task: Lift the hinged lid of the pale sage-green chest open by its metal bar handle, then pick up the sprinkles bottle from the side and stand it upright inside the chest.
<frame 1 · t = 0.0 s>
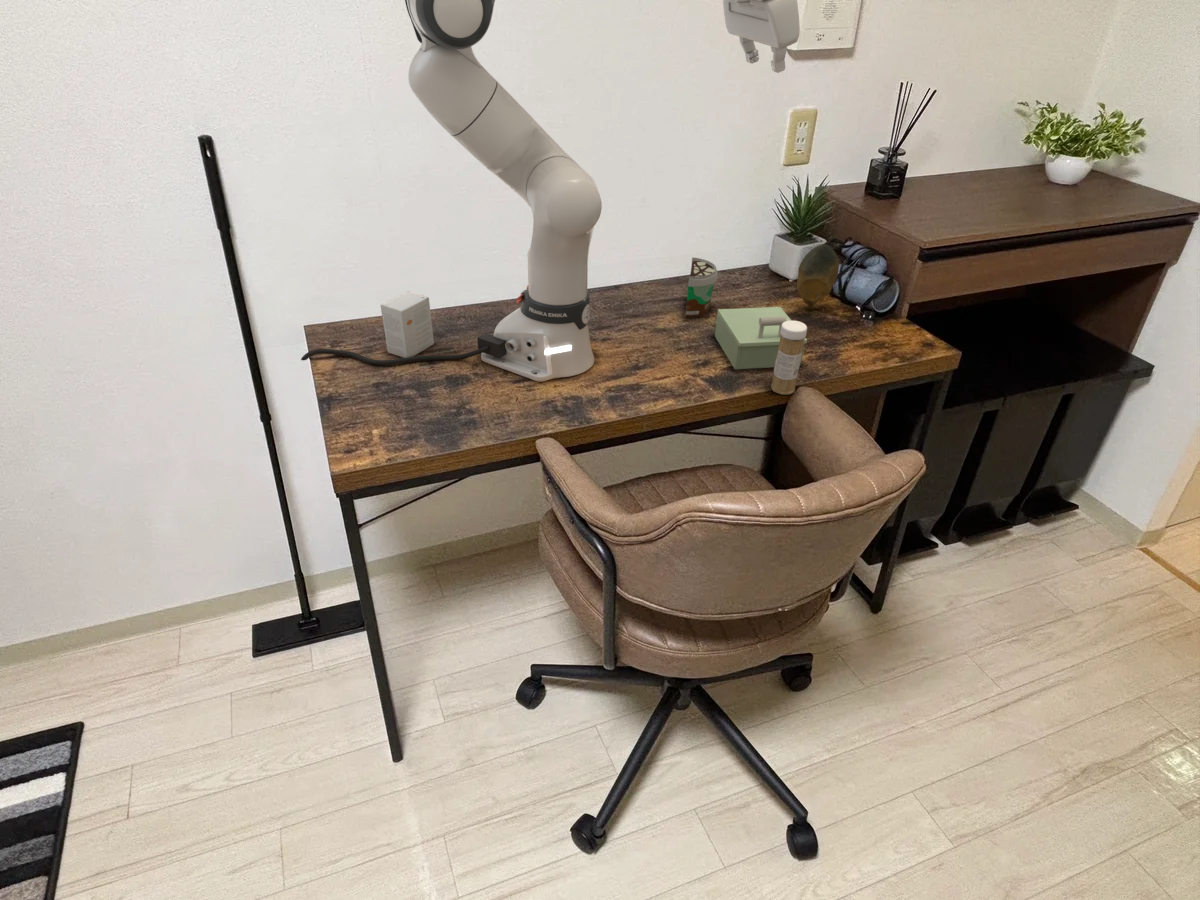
hand: (765, 66, 133), 52 cm above the table, tool tilted 20°, fingers open, 8 cm apart
lid: (762, 316, 154), point 8 cm above the table, hinge at 0.0°
small box: (411, 349, 156), on the table
chest: (756, 350, 158), on the table
decorative stone: (811, 309, 176), on the table
sprinkles bottle: (782, 390, 146), on the table
food container: (700, 310, 174), on the table
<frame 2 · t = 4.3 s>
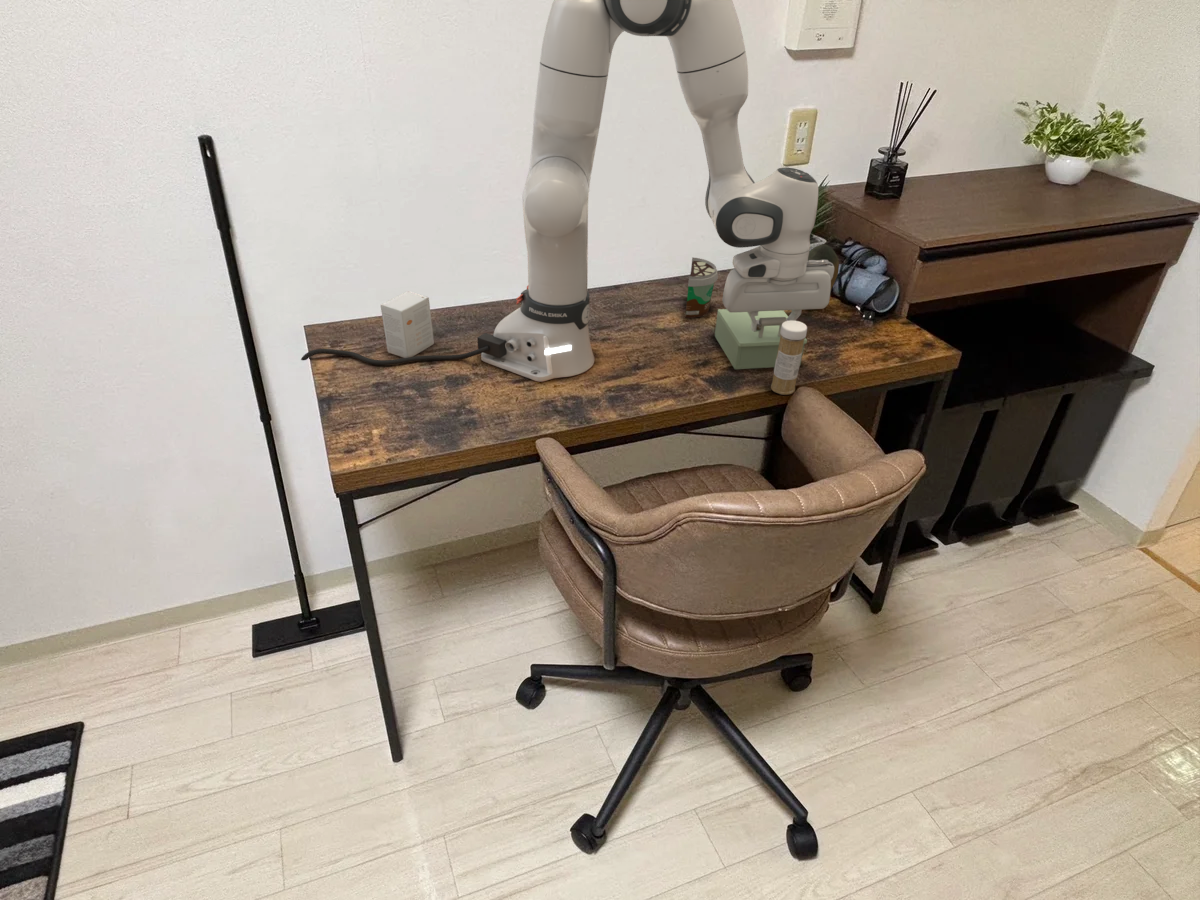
hand: (771, 329, 149), 8 cm above the table, tool pointing down, fingers closed on lid, 5 cm apart
lid: (762, 316, 154), point 8 cm above the table, hinge at 0.0°, touching gripper
everything else where it was.
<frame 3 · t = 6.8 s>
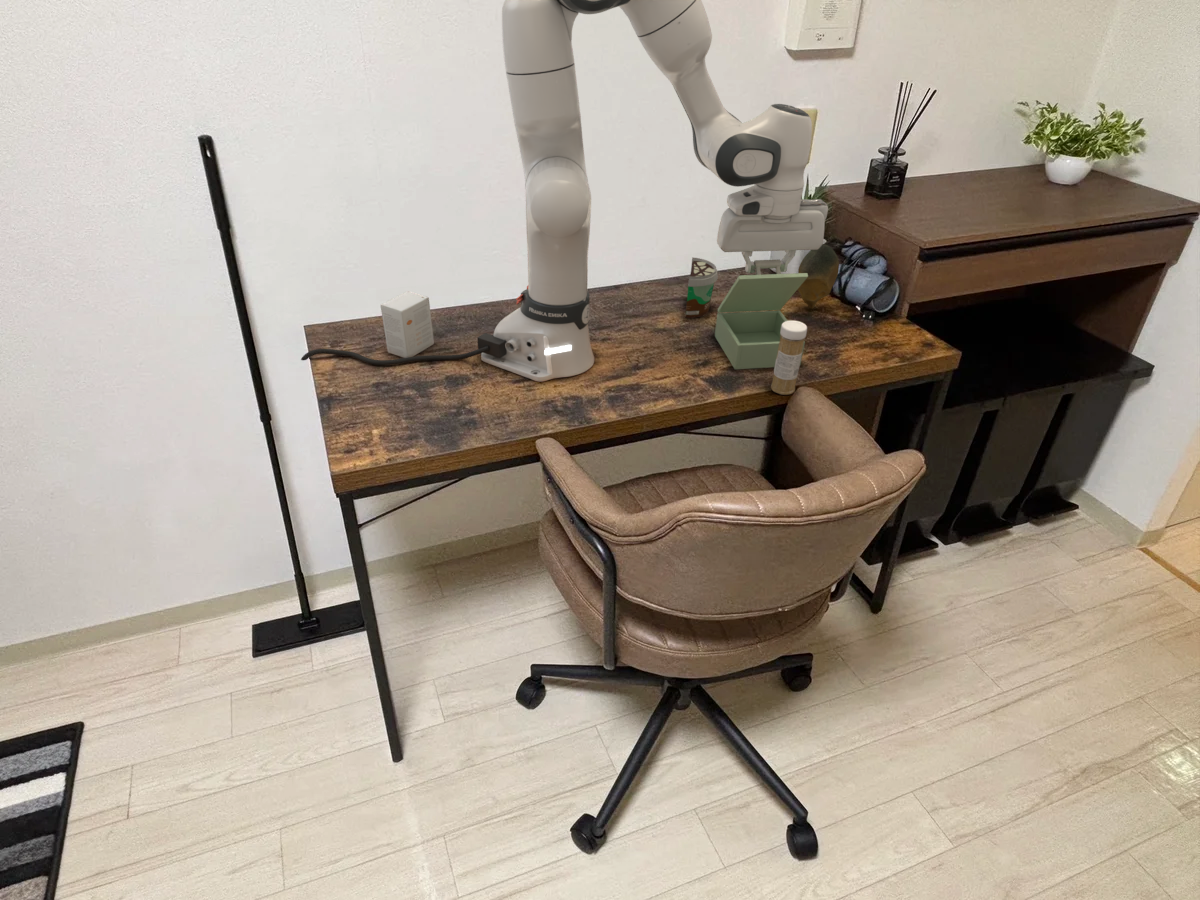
hand: (765, 271, 150), 16 cm above the table, tool pointing down, fingers closed on lid, 5 cm apart
lid: (759, 284, 154), point 13 cm above the table, hinge at 48.8°, touching gripper
everything else where it was.
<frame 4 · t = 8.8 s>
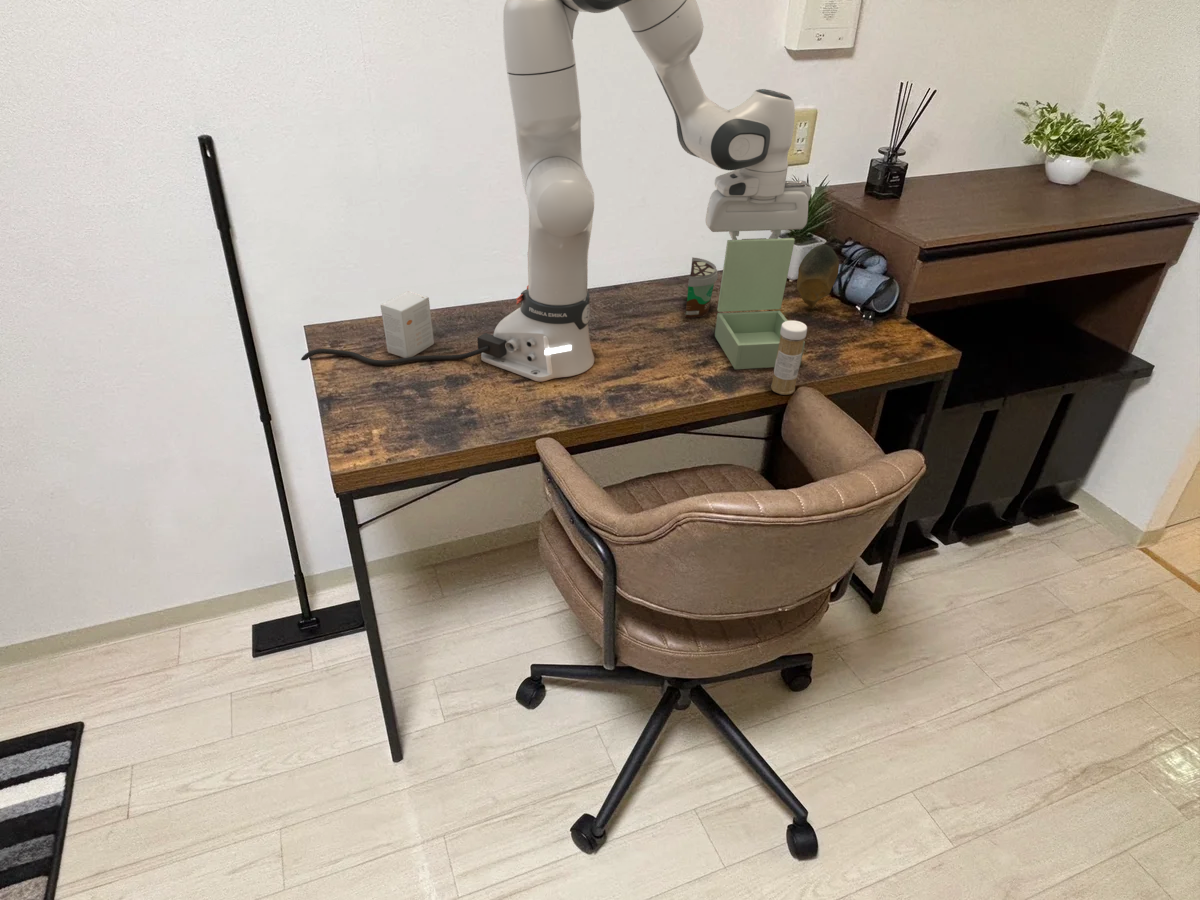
hand: (752, 250, 157), 17 cm above the table, tool pointing down, fingers closed on lid, 5 cm apart
lid: (752, 271, 158), point 14 cm above the table, hinge at 86.1°, touching gripper
everything else where it was.
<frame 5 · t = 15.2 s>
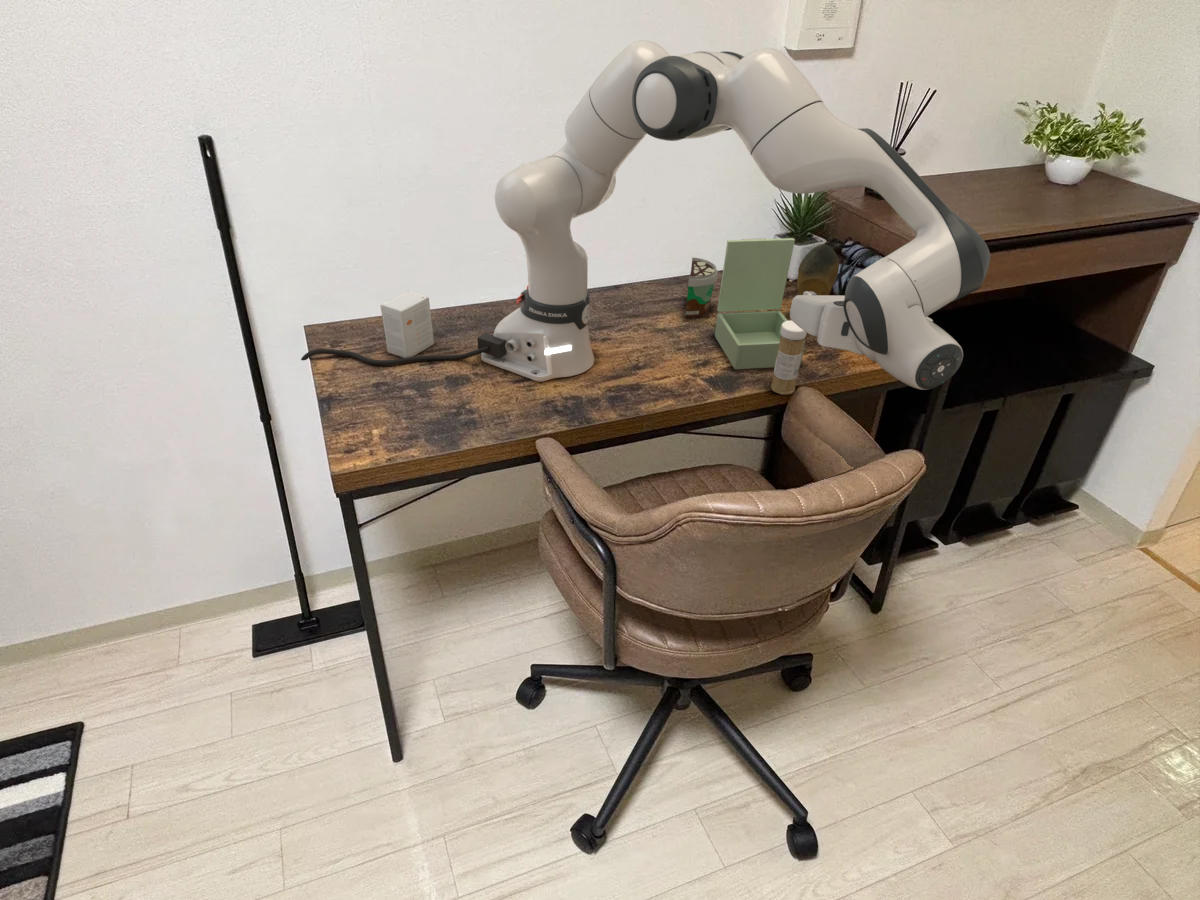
hand: (833, 296, 125), 23 cm above the table, tool horizontal, fingers open, 8 cm apart
lid: (752, 271, 158), point 14 cm above the table, hinge at 85.8°
everything else where it was.
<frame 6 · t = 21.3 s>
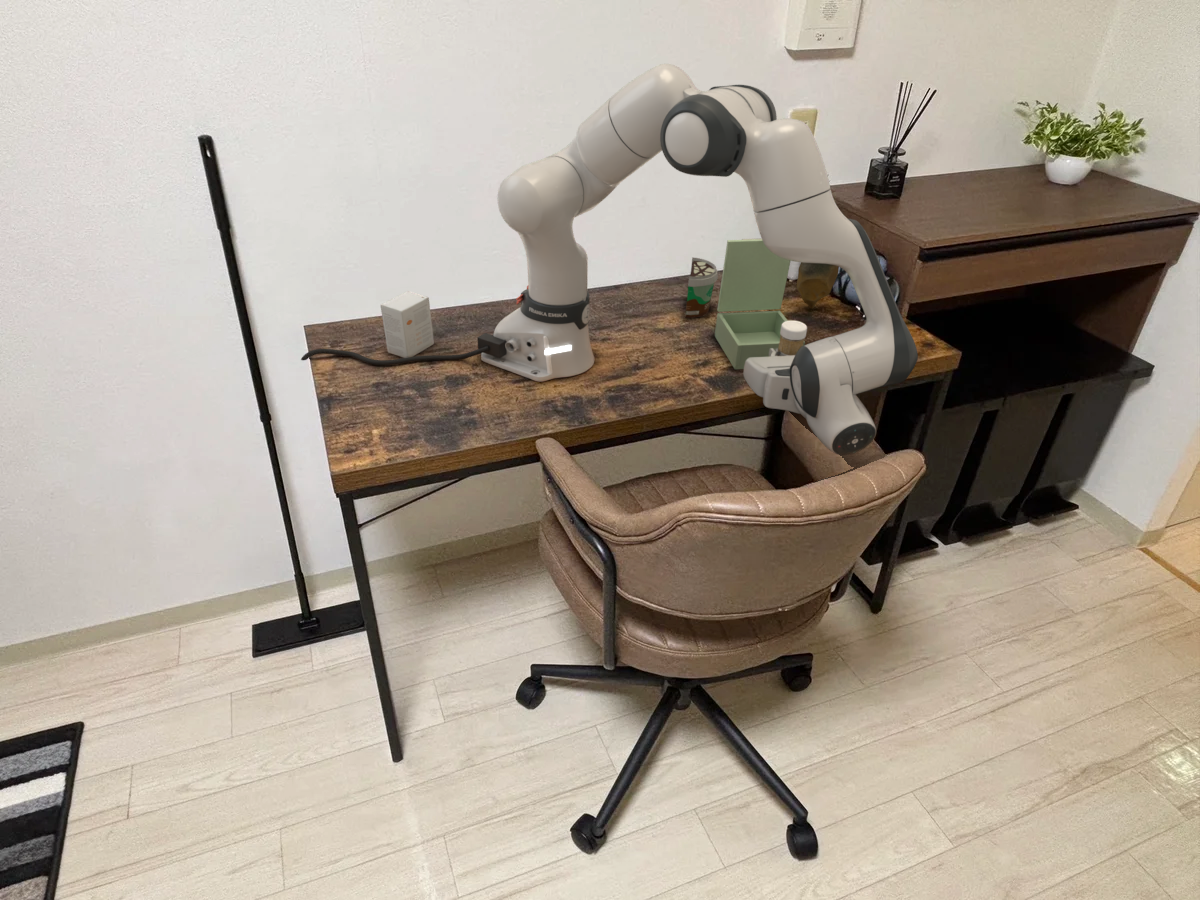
hand: (787, 350, 142), 8 cm above the table, tool horizontal, fingers closed on sprinkles bottle, 4 cm apart
sprinkles bottle: (782, 390, 146), on the table, touching gripper
everything else where it was.
when the fingers open (9 cm above the table, at t = 28.2 s): sprinkles bottle stays where it is, resting on chest.
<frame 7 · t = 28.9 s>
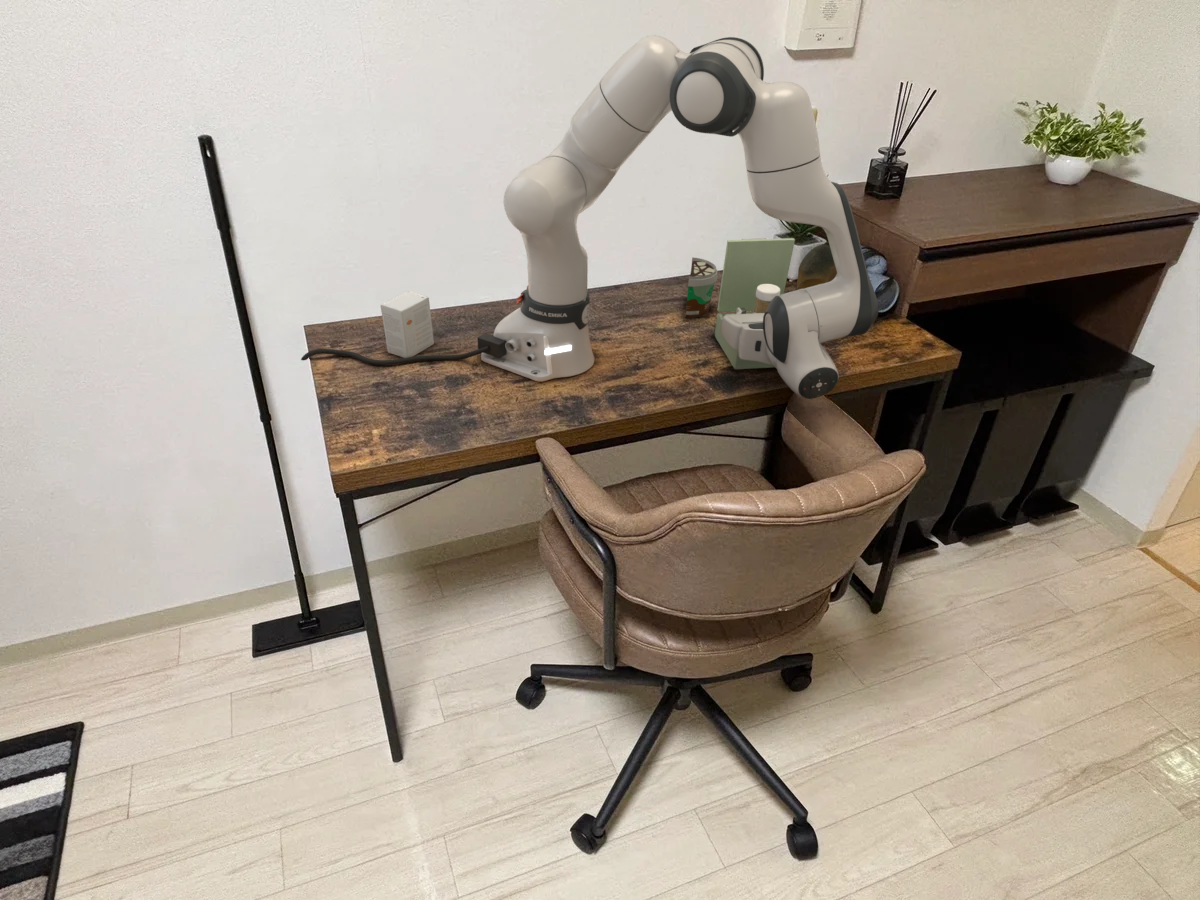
hand: (762, 310, 153), 9 cm above the table, tool horizontal, fingers open, 8 cm apart
sprinkles bottle: (758, 350, 157), point 1 cm above the table, touching chest
everything else where it was.
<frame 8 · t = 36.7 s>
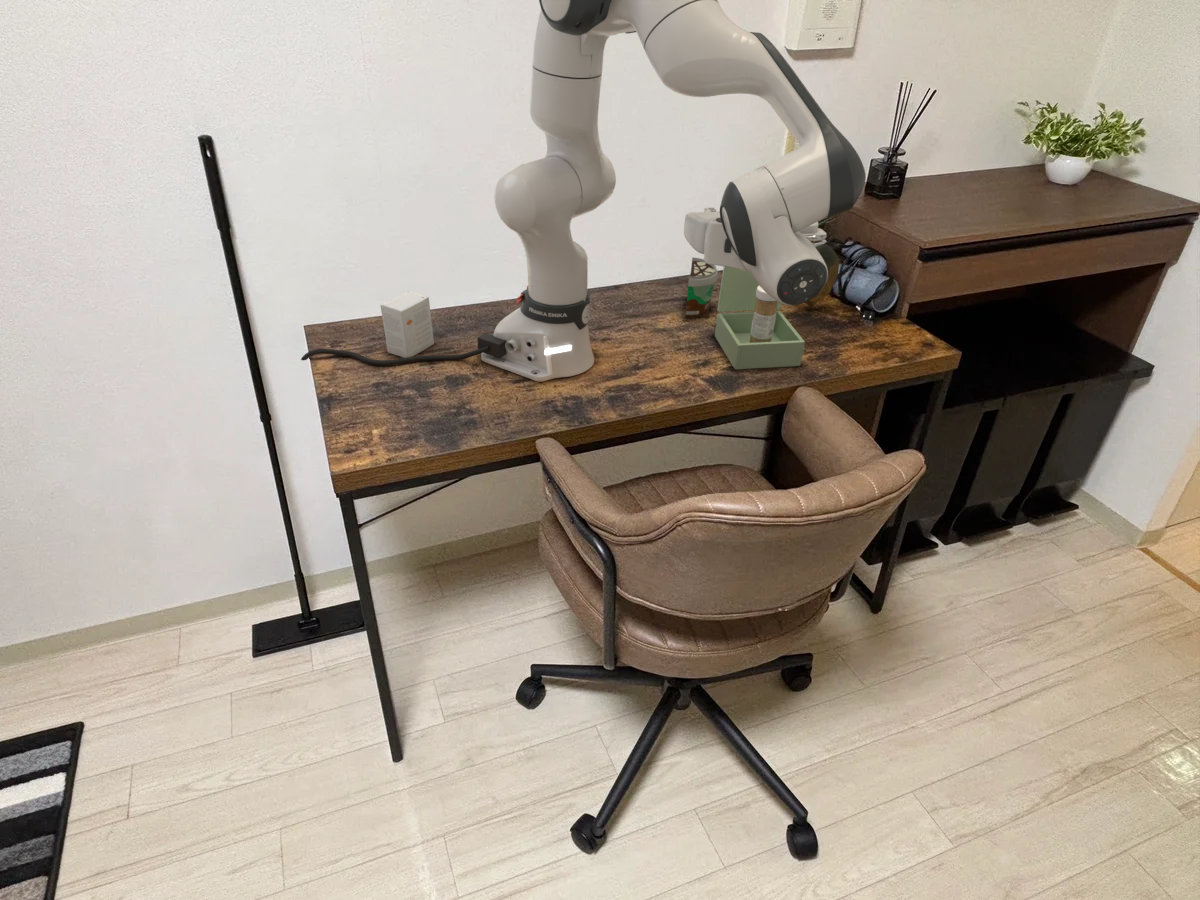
hand: (736, 211, 125), 34 cm above the table, tool horizontal, fingers open, 8 cm apart
nothing on the table moved.
at the end: lid at +86° (first picture: +0°); sprinkles bottle inside the target area in the chest (0.2 cm from its centre), point 0.6 cm above the chest's base; sprinkles bottle tilted 0° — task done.
